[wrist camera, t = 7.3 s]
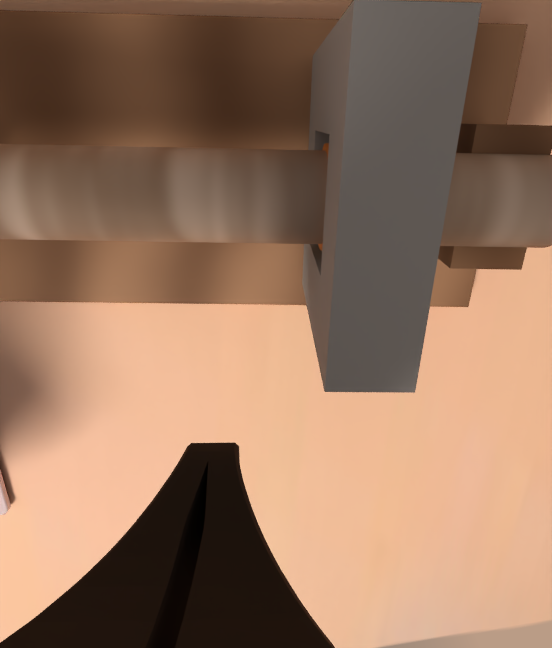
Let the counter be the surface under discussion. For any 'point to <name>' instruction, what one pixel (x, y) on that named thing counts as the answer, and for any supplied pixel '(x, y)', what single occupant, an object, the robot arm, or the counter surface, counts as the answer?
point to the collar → (383, 183)
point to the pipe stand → (219, 161)
